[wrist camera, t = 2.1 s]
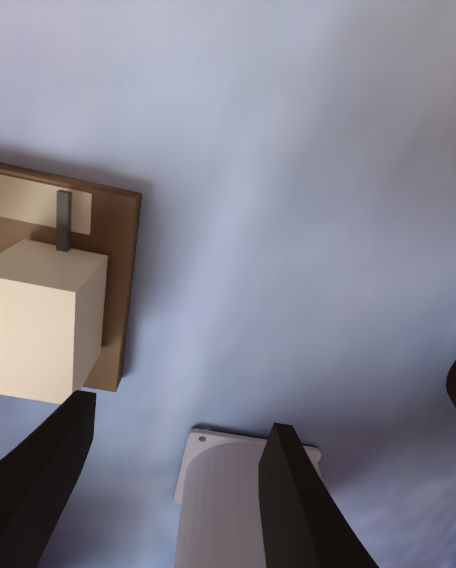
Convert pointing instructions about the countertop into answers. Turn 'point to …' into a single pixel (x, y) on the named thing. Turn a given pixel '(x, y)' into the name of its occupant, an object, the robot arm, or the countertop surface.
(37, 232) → the frame
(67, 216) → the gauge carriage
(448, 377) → the coffee mug
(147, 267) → the countertop surface
